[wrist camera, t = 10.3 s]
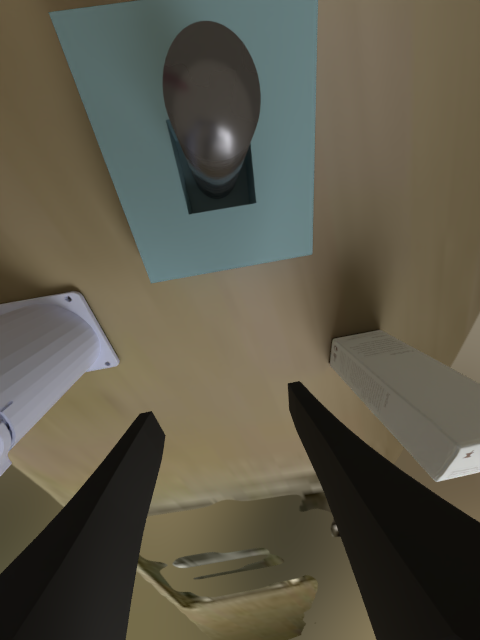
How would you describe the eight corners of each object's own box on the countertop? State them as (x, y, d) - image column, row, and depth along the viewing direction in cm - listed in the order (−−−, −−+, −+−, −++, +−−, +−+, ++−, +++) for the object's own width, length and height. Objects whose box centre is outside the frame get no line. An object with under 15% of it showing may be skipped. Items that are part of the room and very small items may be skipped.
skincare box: (328, 365, 23) (430, 488, 12) (331, 335, 21) (457, 449, 10) (376, 356, 23) (520, 469, 12) (383, 325, 21) (563, 426, 10)
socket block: (162, 274, 16) (151, 283, 13) (92, 69, 11) (48, 12, 8) (296, 250, 16) (312, 254, 13) (293, 40, 11) (318, -24, 8)
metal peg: (202, 204, 13) (186, 171, 6) (186, 153, 12) (143, 38, 5) (241, 192, 13) (268, 146, 6) (229, 139, 12) (248, 5, 5)
